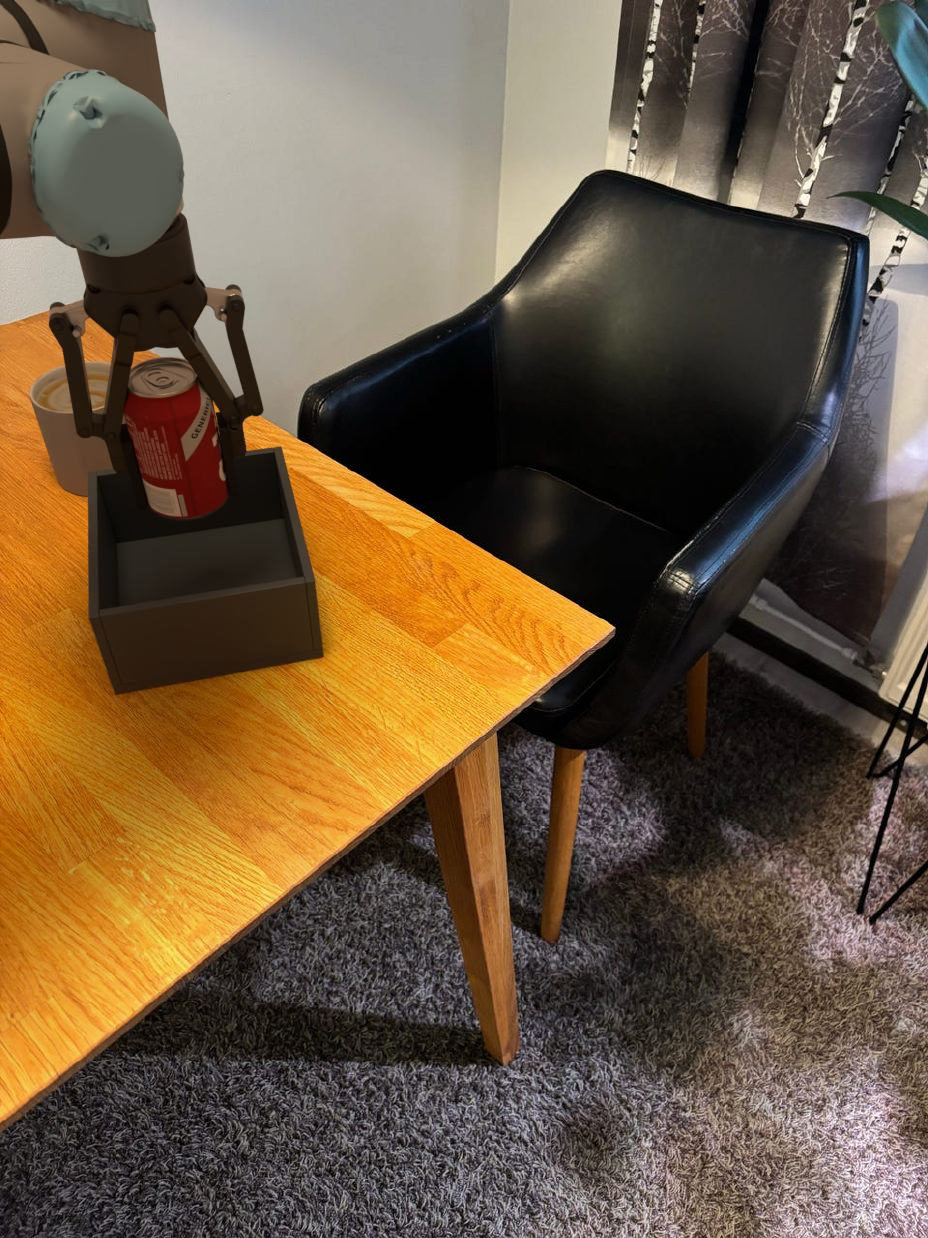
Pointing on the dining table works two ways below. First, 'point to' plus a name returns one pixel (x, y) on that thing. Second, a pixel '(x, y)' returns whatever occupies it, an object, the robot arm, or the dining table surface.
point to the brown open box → (200, 581)
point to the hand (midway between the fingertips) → (188, 492)
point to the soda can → (175, 439)
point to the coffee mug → (71, 425)
